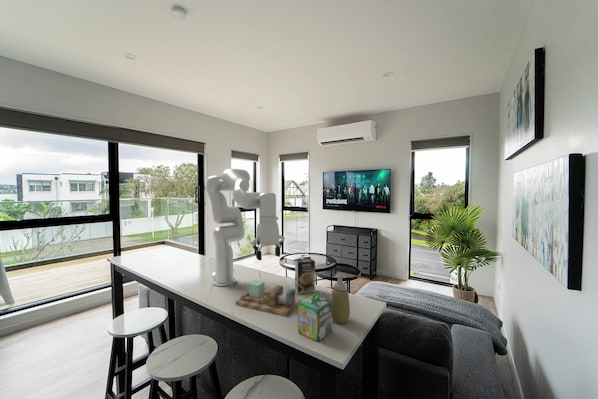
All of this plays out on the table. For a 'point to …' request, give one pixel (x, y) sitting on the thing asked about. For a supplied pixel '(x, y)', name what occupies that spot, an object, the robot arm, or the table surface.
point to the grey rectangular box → (286, 298)
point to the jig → (268, 302)
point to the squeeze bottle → (340, 302)
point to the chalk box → (314, 317)
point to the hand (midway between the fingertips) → (268, 257)
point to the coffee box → (304, 276)
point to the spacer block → (256, 289)
